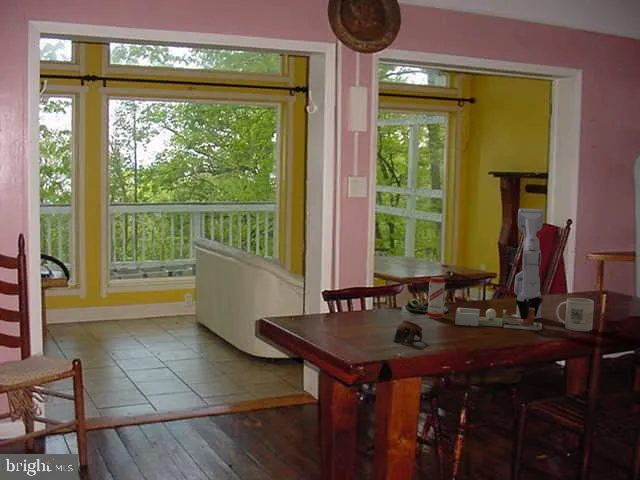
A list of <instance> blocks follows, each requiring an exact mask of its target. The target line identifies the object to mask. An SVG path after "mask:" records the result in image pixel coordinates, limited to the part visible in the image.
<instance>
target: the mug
mask: <svg viewBox="0 0 640 480" xmlns="http://www.w3.org/2000/svg"><path fill="white" fill-rule="evenodd" d="M594 301H595V300H593V299H590V298H586V297H585V298H583V297H569V298H567V299H566V301H562V302H560V303H559V304H558V305H557V308H556V311H555V314H556V318H557V320H558V321H559V322H560V323H561V324H564V328H565V329H567V330H570V331H575V332H576V331H577V332H591V331H592V330H593V323H594V322H593V320H594V319H593V318H594V308H595V307H594V306H595V302H594ZM563 305H565V307H566V308H565V320H563V319H562V318H561V317H560V314H559V310H560V308H561V306H563ZM590 330H591V331H590Z"/></svg>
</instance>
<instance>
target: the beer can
mask: <svg viewBox="0 0 640 480" xmlns="http://www.w3.org/2000/svg"><path fill="white" fill-rule="evenodd" d="M445 293H446V281H445V278H444V277H442V276H441V277H440V276H431V277H430V280H429V284H428V301H427V302H428V314H427V316H428V317H429V318H430V319H435V320H436V319H437V320H440V319H443V317H444V315H445V313H444V305H445V296H446V294H445Z"/></svg>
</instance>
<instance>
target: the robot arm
mask: <svg viewBox="0 0 640 480" xmlns="http://www.w3.org/2000/svg"><path fill="white" fill-rule="evenodd" d="M544 218H545V212H544V209H543V208H540V209H539V208H537V209H535V208H521V207H519V209H518V211H517V227H518V230H519V231H521V232H522V235H523V245H522V246H523V252H522V271H520V272H519V273H517V274H515V278H514V290H513V291H514V292H513V293H514V294H515V295H516V296H517V297H516V298H517V299H515V304H516V314H511V316H517V317H521V319H527V316H528V310H529V308H534V310H535V311H534V320H535V319H541V318H543V316H542V315H541V314H542V313H541V312H542V302H543V301H544V299H543V298H542V297H541V296H542V292H541V278H540V275H539V274H540V267H541V262H542V254H541V249H540V239H539V238H538V237H537V232H539V231H541V230H542V228H543V224H544Z"/></svg>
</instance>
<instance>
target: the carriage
mask: <svg viewBox="0 0 640 480" xmlns="http://www.w3.org/2000/svg"><path fill="white" fill-rule="evenodd" d="M534 311H535V310H534V308H529V310H528V316H527V319H521V317H517V316H512V315H507V309H503V310H502V318H503V322H504V321H517V322H520V324H519V326H530V327H537V326H536V323H537V322H535V319H534Z"/></svg>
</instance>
